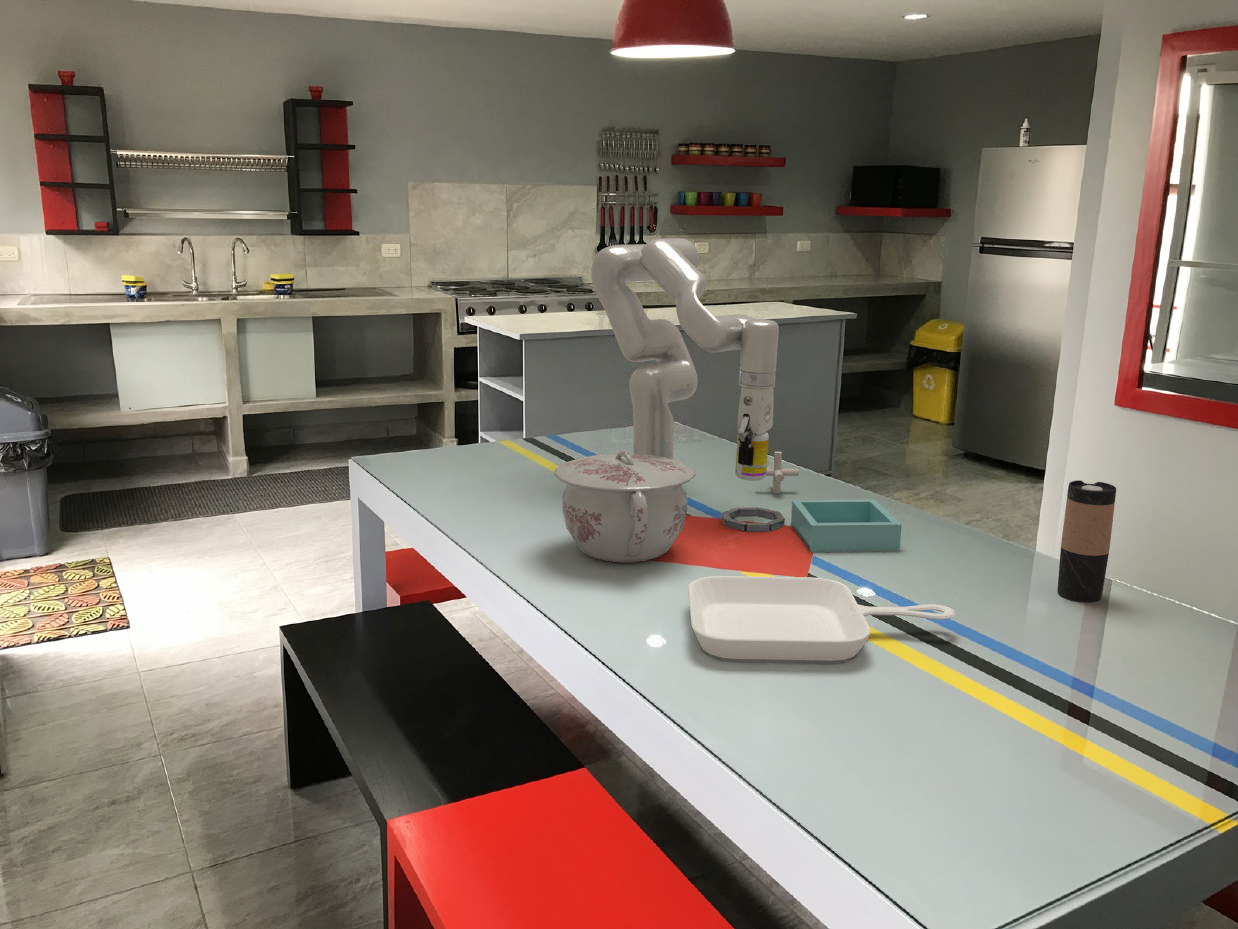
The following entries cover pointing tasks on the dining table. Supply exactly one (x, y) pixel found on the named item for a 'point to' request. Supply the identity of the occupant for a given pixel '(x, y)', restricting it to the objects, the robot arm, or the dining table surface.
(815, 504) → the bin
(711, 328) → the robot arm
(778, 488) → the pipe connector
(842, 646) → the pan
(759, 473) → the supplement bottle
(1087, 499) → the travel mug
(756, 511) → the collar
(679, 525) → the chamber pot
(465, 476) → the dining table surface
